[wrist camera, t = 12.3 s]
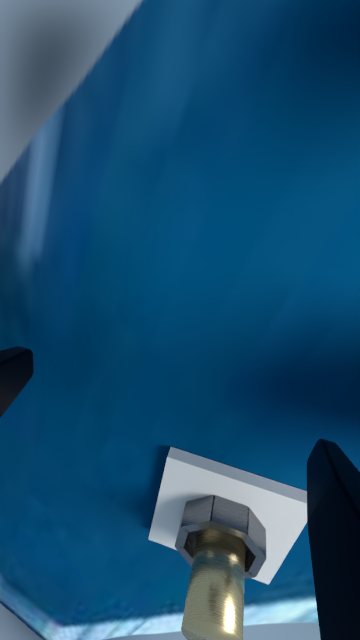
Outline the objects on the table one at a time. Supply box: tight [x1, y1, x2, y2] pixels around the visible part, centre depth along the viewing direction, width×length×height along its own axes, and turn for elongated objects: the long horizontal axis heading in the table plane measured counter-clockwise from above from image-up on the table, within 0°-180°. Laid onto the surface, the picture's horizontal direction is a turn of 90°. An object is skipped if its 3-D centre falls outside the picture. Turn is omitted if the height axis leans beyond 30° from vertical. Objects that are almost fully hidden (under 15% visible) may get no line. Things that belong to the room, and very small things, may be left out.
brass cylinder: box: [181, 528, 245, 640], centre depth 25 cm, size 4×4×8 cm
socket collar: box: [175, 495, 266, 579], centre depth 28 cm, size 8×8×2 cm
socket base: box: [148, 447, 307, 585], centre depth 30 cm, size 13×13×1 cm
